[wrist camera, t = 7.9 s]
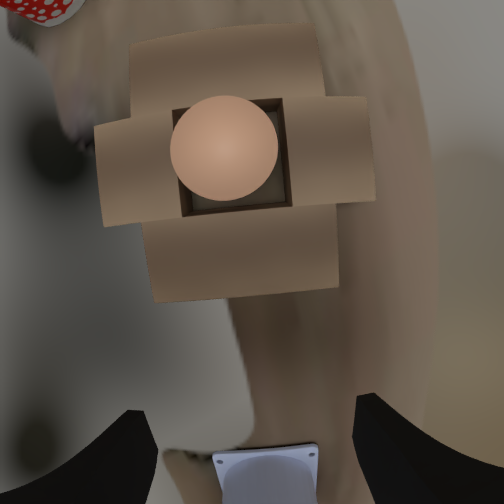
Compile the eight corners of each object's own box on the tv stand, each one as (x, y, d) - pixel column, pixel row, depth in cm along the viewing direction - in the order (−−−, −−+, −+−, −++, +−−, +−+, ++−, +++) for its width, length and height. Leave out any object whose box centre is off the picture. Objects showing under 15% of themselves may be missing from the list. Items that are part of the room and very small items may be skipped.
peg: (269, 189, 17) (282, 195, 10) (204, 195, 17) (175, 206, 10) (263, 125, 16) (272, 90, 10) (198, 132, 17) (166, 103, 10)
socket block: (358, 266, 18) (377, 282, 15) (136, 286, 18) (118, 305, 15) (338, 46, 15) (353, 25, 12) (114, 70, 16) (93, 54, 13)
